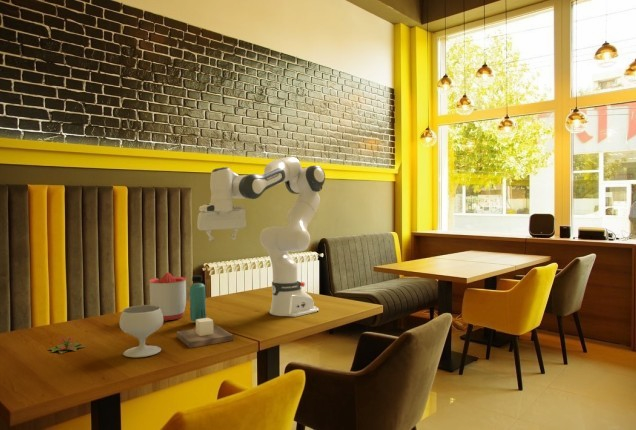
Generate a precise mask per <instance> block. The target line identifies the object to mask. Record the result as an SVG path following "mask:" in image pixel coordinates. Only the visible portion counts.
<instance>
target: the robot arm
mask: <svg viewBox="0 0 636 430" xmlns="http://www.w3.org/2000/svg"><path fill="white" fill-rule="evenodd" d="M325 181H326V173H325V171H324V169H323V168H322V167H321V166H320V165H309V166H308V167H304V168H303V167H302V165H301V162H300V161H299V159H298V158H297V157H295V156H287V157H285V156H284V157H281V158H278V159H275V160H272V161H270V162H268V163H267V164H266V165H265V166H264V170H263V174H261V175H259V174H254V173H253V174H247V175H246V174H245V175H239V174H237V173H235V172H234V171H232V170H231V167H228V166H227V167H225V166H224V167H218V168H215V169H212V170H211V172H210V181H209V182H210V183H209V187H210V192H211V196H210V202H209V203H206V204H203V205H201V206H199V208H198V211H199V213H198V214H197V222H196V227H197V229H198V230H199V231H205V233H206V235H207V236H208V241H209V242H214V241H215V236H212V231H213V230H231V229H232V230H233V233H232V234H230V240H232V241H233V240H237V239H236V237H237V234H238V233H239V229H245V228H246V226H247V220H246V209H245V207H243V206H239V205H238V206H233V204H234V203H233V199H249V200H250V199H251V200H257V199H259V198H260V197H261V196H262V195H263V193H265V192H266V191H267V190H269V189H270V188H272V187H274V186H277V185H281V184H283V183H284V184H285V187H286V189H287V191H288V192H289V193H291V194H293V195H298V197H297V199H296V200H295V201H294V203H293V204H292V206H291V207H290V209H289V210H288V212H287V214H286V221H287V223H288V224H287V225H285V226H281V225H279V226H276V225H275V226H274V225H273V226H269V227H264V228H263V229H262V230H261V232H260V234H259V243H260V245H261V246H262V247H263V248H264V249H265V251H266V252H267V254H268V256H269V259H270V261H271V266H272V267H271V268H272V281H271V294H272V297H271V298H272V300H271V307H270V310H269V314H270V315H272V316H277V317H292V318H293V317H294V318H295V317H299V316H304V315H309V314H312V313H317V311H318V312H319V311H320V310H319V307H317V306H316V305H314V304H315V303H314V299H313V297H312V296H311V295H310V294H308V293H307V292H306V291H305V290H303V289H302V288H304V287H305V286H306V283H305V282H304V281H298V265H297V262H296V261H295V260H294V259H292V257H291V255H290V252H293V253H294V252H295V253H296V252H303V251H306V250H307V249H308V248H309V246H310V244H311V235H310V233H309V231H308V226H309V224H310V223H311V221H312V219H313V218H314V216H315V214H316V213H317V211H318V209H319V206H320V204H321V197H320V195H319V192H320V191H322V189H323V186H324V185H325ZM301 287H302V288H301Z"/></svg>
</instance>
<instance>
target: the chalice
mask: <svg viewBox="0 0 636 430" xmlns="http://www.w3.org/2000/svg"><path fill="white" fill-rule="evenodd" d="M163 324H164V321H163V314H162V311H161V309H160V307H158V306H155V305H150V304H142V305H134V306H129V307H126V308H124V309H123V310H122V312H121V314H120V317H119V327H120V329H121V331H122V332H123V333H125V334H128V335H130V336H132V337H135V338H136V339H137V340H138V342H139V344H138V346H135V347H130V348H128V349H125V351H123V353H122V355H123V356H125V357H128V358H145V357H149V356H154V355H156V354H157V355H158V354H159V353H160V352H161V351H162V348H161V347H159V346H157V345H147V344H146V341H147V338H148V337H149V336H150V335H152V334H154V333H155V332H157V331H158V330H159V329H160V328H161V327H162V326H163Z"/></svg>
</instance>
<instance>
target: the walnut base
mask: <svg viewBox="0 0 636 430" xmlns="http://www.w3.org/2000/svg"><path fill="white" fill-rule="evenodd" d="M176 338H177V339H179V340H180V341H181V342H182V343H183V344H185V346H187V347H188V348H189V349H192V348H197V347H199V348H200V347H204V346H210V345H215V344H220V343H221V344H222V343H227V342H232V341H234V334H232V333H231V332H228V331H227V330H226V329H224V328H222V327H221V326H219V325H213V334H210V335H204V336H200V335H198V334H197V333H196V328H192V329H186V330H180V331H176Z"/></svg>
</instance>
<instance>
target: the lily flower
mask: <svg viewBox="0 0 636 430" xmlns="http://www.w3.org/2000/svg"><path fill="white" fill-rule="evenodd" d="M66 338H67V340H66ZM66 338H64V337H61V338H59V343H60V344H59V345H56V346H55V347H51V348H47V350H51V352H50V353H53V352H56V351H57V352H58V353H59V354H61V355H62V354H64V353H66V352H70V350H71V351H75V352H77V349H80V348H86V346H85V345H82V344H81V343H78V342H73V338H74V336H72V337H71V336H69V337H68V336H67V337H66ZM60 340H62V341H63V342H62V341H60Z"/></svg>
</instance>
